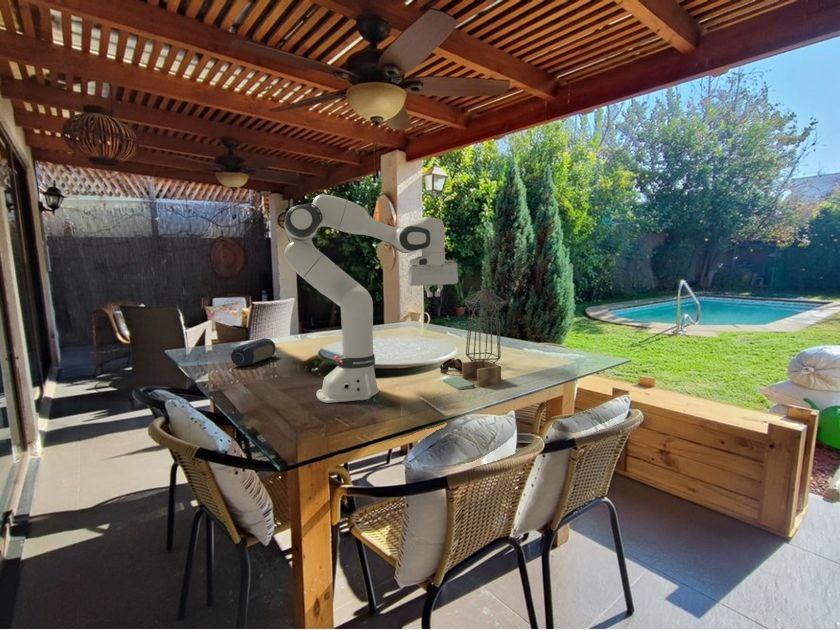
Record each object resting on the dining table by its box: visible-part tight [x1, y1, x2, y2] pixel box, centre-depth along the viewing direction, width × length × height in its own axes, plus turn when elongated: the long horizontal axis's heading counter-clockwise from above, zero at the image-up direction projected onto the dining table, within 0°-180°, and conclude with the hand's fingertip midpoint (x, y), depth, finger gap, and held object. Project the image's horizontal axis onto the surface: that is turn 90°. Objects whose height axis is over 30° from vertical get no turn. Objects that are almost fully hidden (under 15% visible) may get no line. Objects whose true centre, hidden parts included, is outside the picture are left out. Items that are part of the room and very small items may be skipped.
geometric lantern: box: [462, 288, 508, 364], centre depth 192 cm, size 16×16×35 cm
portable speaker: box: [230, 338, 276, 368], centre depth 207 cm, size 25×10×10 cm, turn 165°
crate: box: [461, 360, 502, 388], centre depth 165 cm, size 10×12×8 cm
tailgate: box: [442, 376, 476, 391], centre depth 161 cm, size 1×12×7 cm
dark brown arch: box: [438, 357, 463, 375], centre depth 180 cm, size 12×10×8 cm
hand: (433, 296), depth 164 cm, fingers closed
